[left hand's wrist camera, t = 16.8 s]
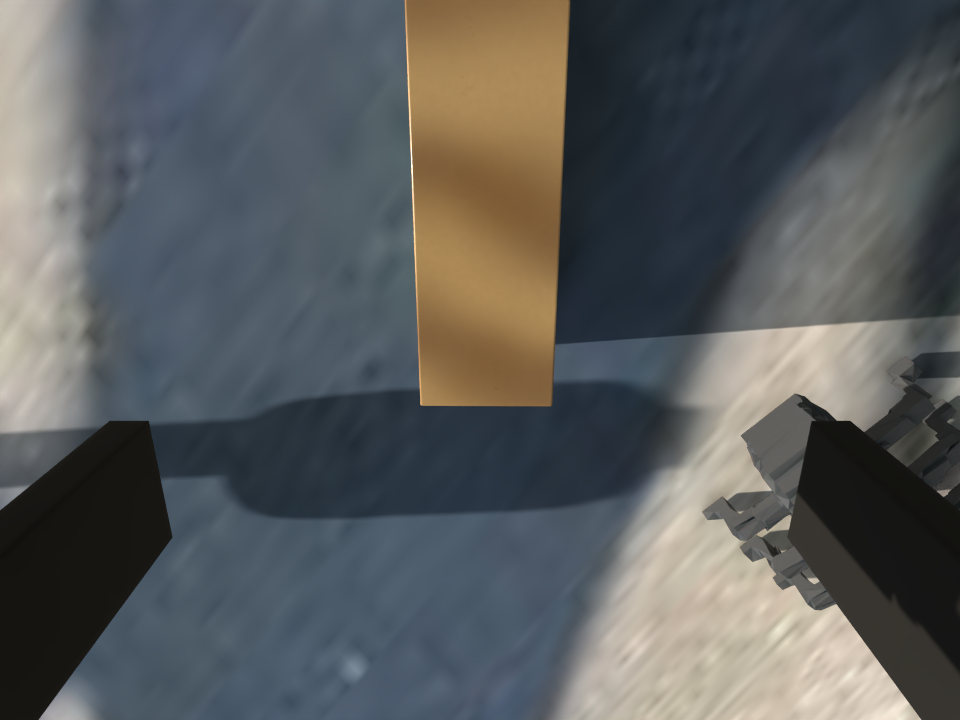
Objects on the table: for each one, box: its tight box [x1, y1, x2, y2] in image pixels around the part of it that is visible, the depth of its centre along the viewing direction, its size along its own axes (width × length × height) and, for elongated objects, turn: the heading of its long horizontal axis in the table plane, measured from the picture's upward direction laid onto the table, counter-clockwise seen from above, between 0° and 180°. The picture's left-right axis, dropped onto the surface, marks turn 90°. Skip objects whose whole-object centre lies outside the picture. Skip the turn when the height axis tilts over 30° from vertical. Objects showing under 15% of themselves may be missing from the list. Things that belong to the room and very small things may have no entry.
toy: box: [703, 356, 960, 610], centre depth 27 cm, size 13×27×18 cm, turn 46°
